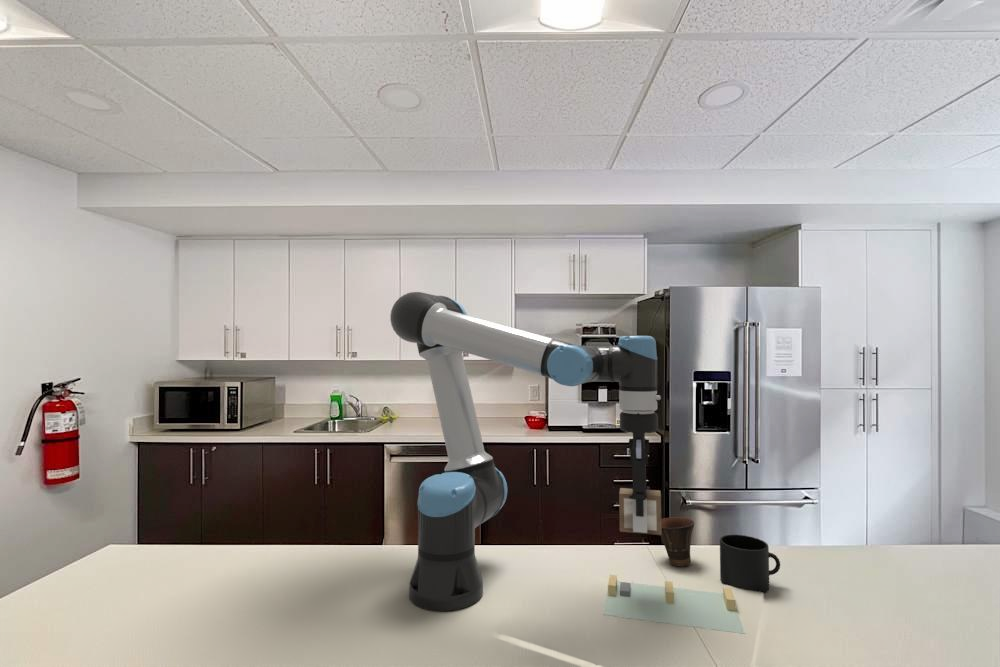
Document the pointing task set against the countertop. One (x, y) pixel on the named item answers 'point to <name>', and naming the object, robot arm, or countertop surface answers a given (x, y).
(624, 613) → the wall board
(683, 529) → the cup
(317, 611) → the countertop surface
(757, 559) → the mug
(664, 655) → the countertop surface
